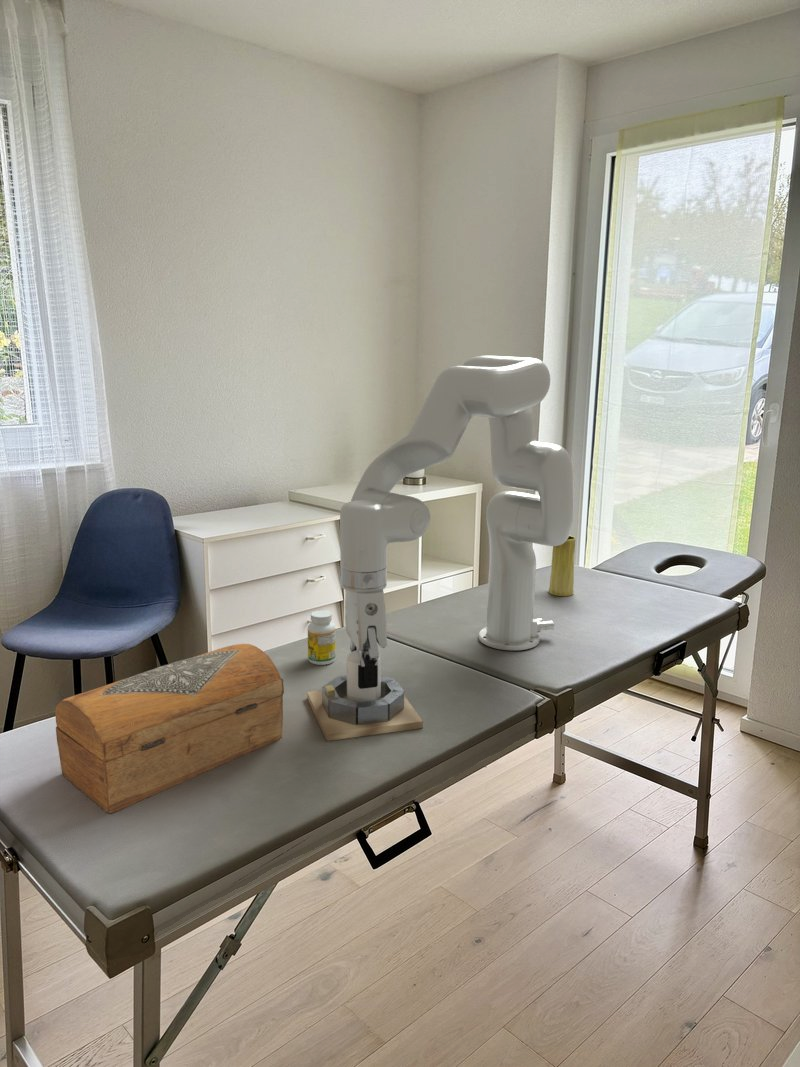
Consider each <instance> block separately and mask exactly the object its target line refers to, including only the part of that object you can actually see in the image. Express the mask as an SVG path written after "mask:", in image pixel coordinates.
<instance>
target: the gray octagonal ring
mask: <svg viewBox="0 0 800 1067" xmlns="http://www.w3.org/2000/svg"><path fill="white" fill-rule="evenodd" d="M321 690H322V705H323V707H324V709H325V711H326V713H327V716H328V717H330V718H331V719H335V720H338V721H342V722H346V723H350V724H353V725H357V724H358V725H364V724H372V723H380V722H387V721H388V720H389V721H390V720H391V719H392V718H393V717H395V716H396V715H397V714H398V713H399V712H401V711H402V710H403V709H404V696H405V691H404V688H402V686H401V685H400V683H399V682H398V681H397V679H396V678H393V677H388V676H384V675H381V697H382V699H381V700H374V701H366V702H355V701H351V700H347V699H343V698H344V697H345V696H347V674H344V675H339V676H337V677H335V678H333V679H331V681H329V682H327V683H326V684H325V685H323V686H322V687H321Z"/></svg>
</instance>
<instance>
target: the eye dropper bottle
mask: <svg viewBox="0 0 800 1067" xmlns="http://www.w3.org/2000/svg"><path fill="white" fill-rule="evenodd" d="M363 647H368V644H363ZM368 653H369V651H366V652H364V658H365V656H366V655H367V654H368ZM358 665H360V655H359V649H358V648H357V650H356V651H353V652H351V651H350V652H349V654H348V655H347V657H346V675H347V697H348V698H350V699H352V700H355V701H359V702H366V701H374V700H378V699H379V698H380V697H381V676H382V659H381V657H380V655H379V658H378V685H377V687H372V688H364V689H360V688H359V687H358Z"/></svg>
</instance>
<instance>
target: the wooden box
mask: <svg viewBox="0 0 800 1067" xmlns="http://www.w3.org/2000/svg"><path fill="white" fill-rule="evenodd" d="M284 693H285V688H284V679H283V678H282V676H281V675H280V672H279V670H278V669H277V666H276V665H275V663H274V662H273V660H272V659H271V657H270V656H269V654H266V652H264V651H263V650H262V649H261V648H258V646H256V645H254V644H250V643H237V644H232V645H228V646H224V647H221V648H217V649H214V650H211V651H207V652H205V653H202V654H199V655H195V656H193V657H189V658H186V659H181V660H178V661H177V660H176V661H173V662H171V663H168V664H163V665H161V666H159V667H155V668H153V669H150V670H147V671H144V672H141V673H138V674H137V673H136V674H134V675H133V676H130V677H129V676H128V677H126V678H122V679H120V680H118V681H114V682H112V683H109V684H105V685H103V686H100V687H97V688H93V689H91V690H88V691H85V692H82V693H78V694H75V695H72V696H69V697H65V698H64V699H62V700H60V701H59V702H57V704H56V707H55V711H54V715H55V724H56V726H55V735H56V744H57V749H58V758H59V762H60V769H61V773H62V775H63V778H65V779H66V780H67V781H69V782H70V783H71V784H72V785H74V786H75V788H76V789H78V790H79V791H81V792H82V793H83V794H84V795H85V796H87V797H88V799H90V800H91V801H92V802H93V803H95V804H96V805H98V806H99V807H100V808H101V809H102V810H103V811H104V812H106V813H108V814H111V813H115V812H117V811H120V810H122V809H125V808H127V807H129V806H131V805H133V804H136V803H139V802H140V801H143V800H144V799H147V798H150V797H152V796H155V795H156V794H159V793H161V792H163V791H165V790H168V789H169V788H173V787H175V786H177V785H180V784H182V783H183V782H186V781H188V780H190V779H194V778H195V777H197V776H199V775H202V774H204V773H207V772H209V771H211V770H213V769H215V768H217V767H220V766H222V765H224V764H227V763H229V762H231V761H233V760H236V759H238V758H241V757H242V756H244V755H247V754H249V753H252V752H254V751H256V750H258V749H260V748H263V747H265V746H267V745H268V746H269V744H272V743H274V742H276V741H279V740H280V739H282V736H283V725H284V723H283V722H284V711H283V708H284V706H283V705H284V704H283V703H284V700H283V698H284V697H283V695H284Z"/></svg>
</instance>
